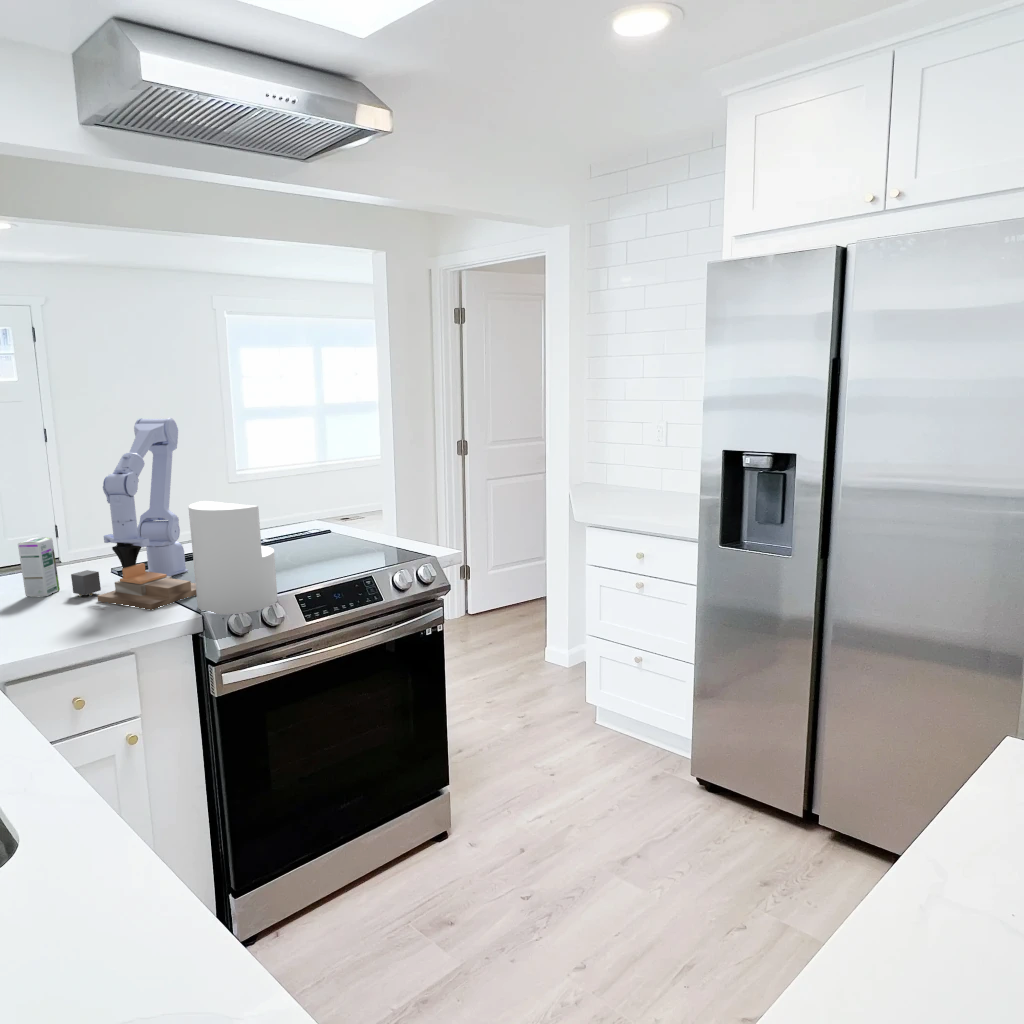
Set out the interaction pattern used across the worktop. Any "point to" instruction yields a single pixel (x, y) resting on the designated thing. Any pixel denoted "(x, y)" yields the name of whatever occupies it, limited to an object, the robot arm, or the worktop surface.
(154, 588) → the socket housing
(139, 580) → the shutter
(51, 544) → the syrup box
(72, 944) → the worktop surface
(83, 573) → the plug
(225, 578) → the cylinder
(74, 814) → the worktop surface
